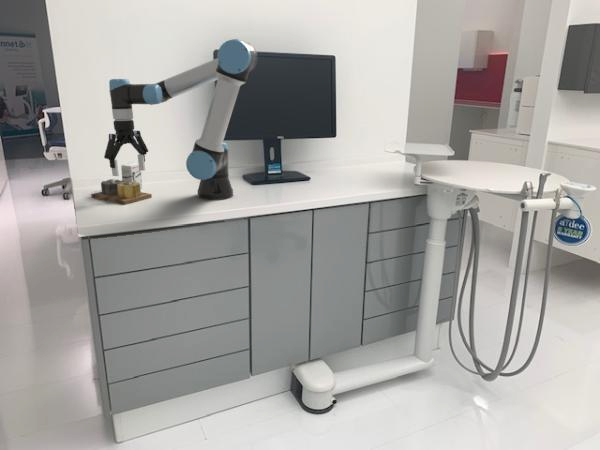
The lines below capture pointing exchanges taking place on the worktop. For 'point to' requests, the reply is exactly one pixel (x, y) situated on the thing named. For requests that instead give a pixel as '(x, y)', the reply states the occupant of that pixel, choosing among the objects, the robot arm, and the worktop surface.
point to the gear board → (116, 193)
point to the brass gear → (129, 190)
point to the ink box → (131, 173)
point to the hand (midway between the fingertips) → (129, 173)
